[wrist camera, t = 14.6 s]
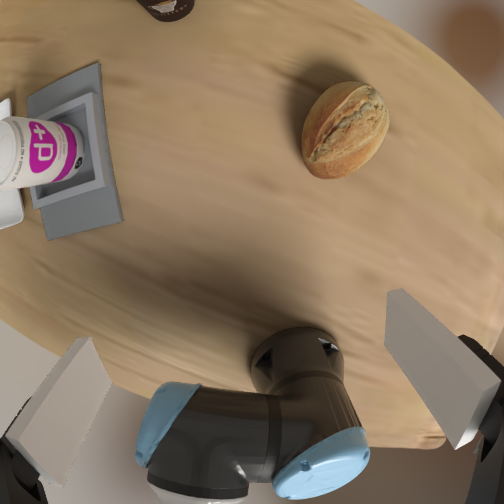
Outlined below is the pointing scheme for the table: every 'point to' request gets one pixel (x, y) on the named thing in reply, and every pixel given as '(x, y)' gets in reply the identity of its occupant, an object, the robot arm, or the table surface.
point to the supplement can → (38, 152)
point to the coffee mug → (168, 9)
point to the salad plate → (10, 202)
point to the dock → (94, 164)
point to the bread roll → (344, 129)
